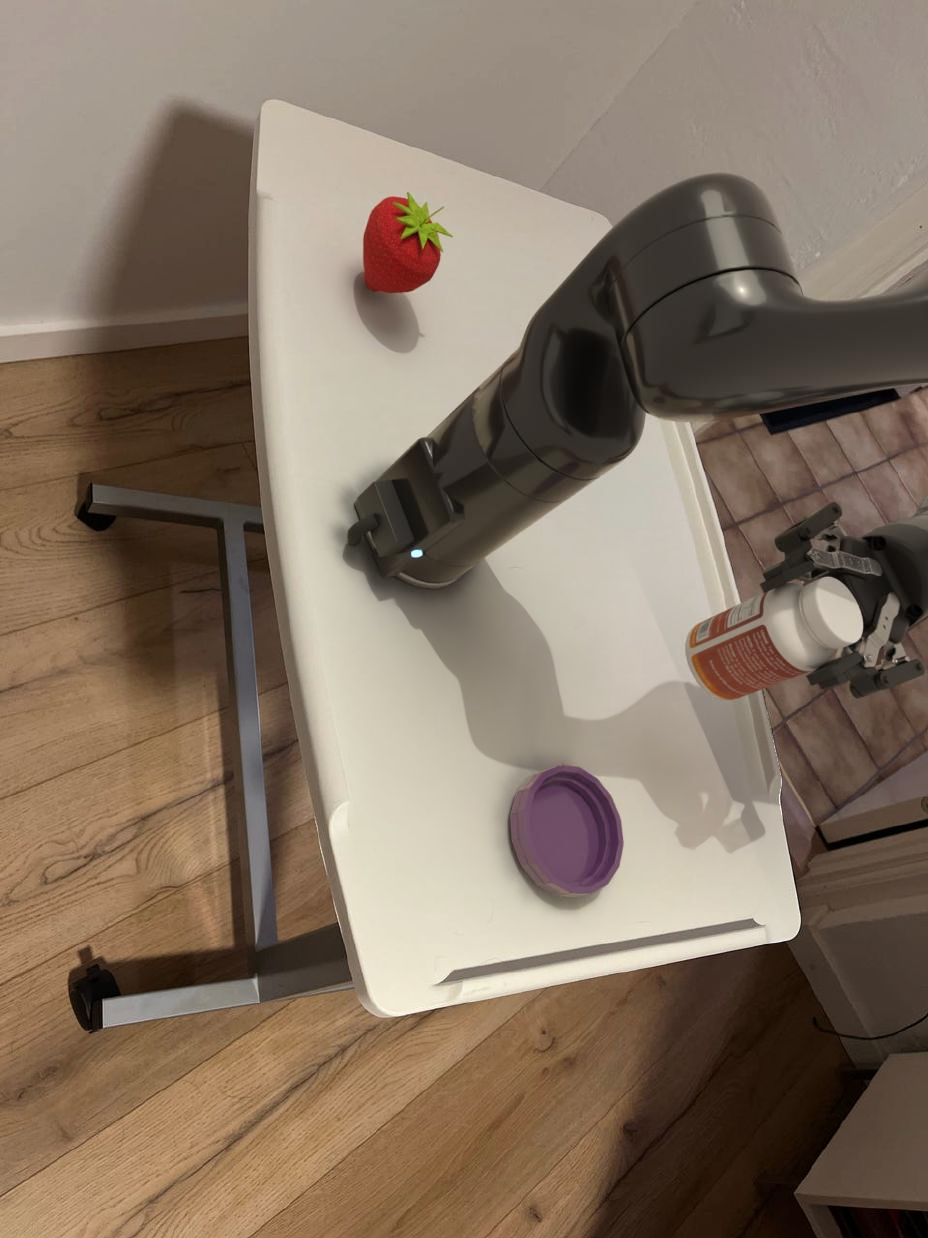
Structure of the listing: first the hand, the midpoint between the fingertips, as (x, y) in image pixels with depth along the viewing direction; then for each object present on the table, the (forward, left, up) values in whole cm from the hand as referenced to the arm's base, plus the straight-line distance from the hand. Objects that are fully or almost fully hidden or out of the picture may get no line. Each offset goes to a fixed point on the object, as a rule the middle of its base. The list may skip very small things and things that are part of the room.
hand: (796, 630), depth 58 cm
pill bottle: (+2, 0, -9) cm, 10 cm away
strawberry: (-6, +39, -19) cm, 44 cm away
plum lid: (-9, -7, -19) cm, 22 cm away
